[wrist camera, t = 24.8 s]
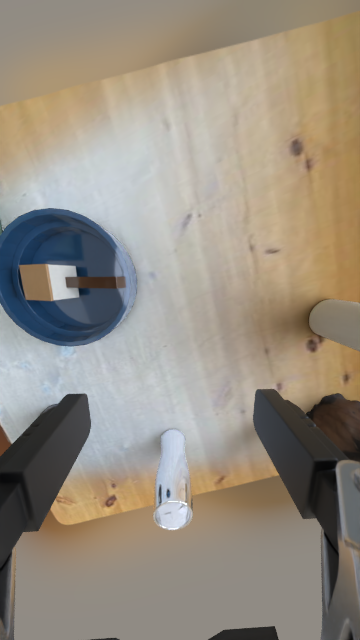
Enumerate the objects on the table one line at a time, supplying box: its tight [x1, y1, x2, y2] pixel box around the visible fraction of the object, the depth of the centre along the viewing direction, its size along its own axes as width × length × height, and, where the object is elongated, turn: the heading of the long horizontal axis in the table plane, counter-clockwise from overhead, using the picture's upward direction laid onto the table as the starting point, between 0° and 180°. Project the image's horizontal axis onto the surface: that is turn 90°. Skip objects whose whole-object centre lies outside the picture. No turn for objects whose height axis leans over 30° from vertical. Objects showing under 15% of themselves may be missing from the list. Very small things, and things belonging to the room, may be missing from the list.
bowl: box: [0, 208, 137, 346], centre depth 33 cm, size 22×22×6 cm
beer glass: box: [153, 429, 193, 530], centre depth 38 cm, size 7×7×15 cm
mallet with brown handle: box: [19, 264, 126, 301], centre depth 31 cm, size 16×6×5 cm, turn 90°
